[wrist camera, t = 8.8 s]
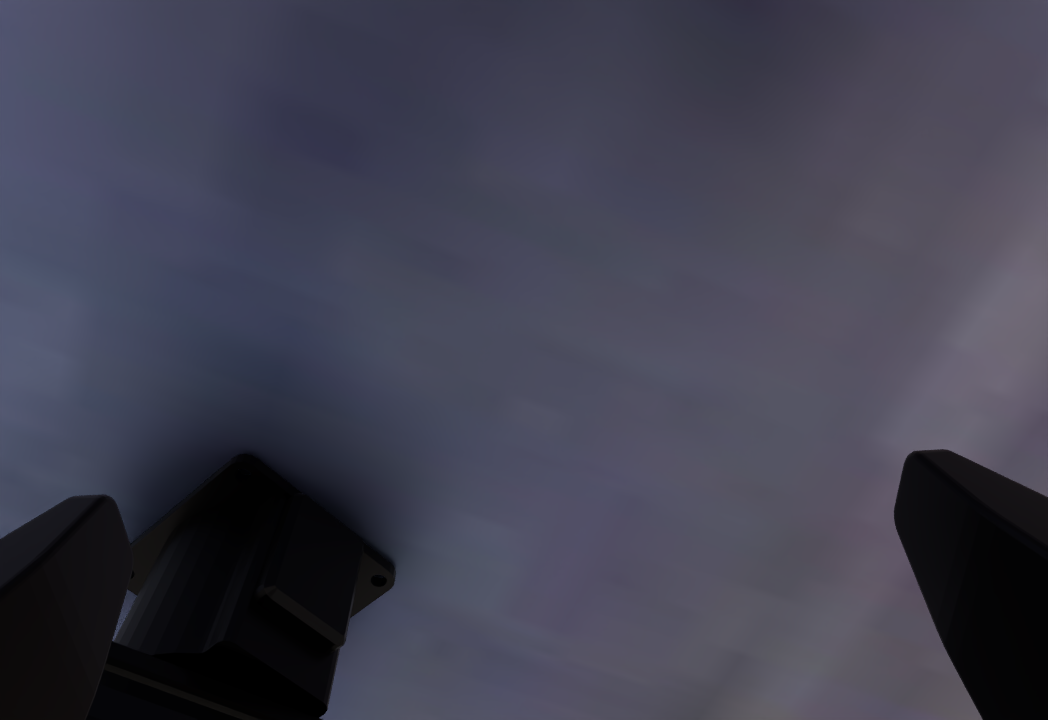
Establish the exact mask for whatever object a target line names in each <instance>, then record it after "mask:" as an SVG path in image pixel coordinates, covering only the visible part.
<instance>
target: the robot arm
mask: <svg viewBox="0 0 1048 720" xmlns="http://www.w3.org/2000/svg"><path fill="white" fill-rule="evenodd" d="M238 469H246V470H248V471H249V472H250V473H251V475H245V474H243V473H241V472H240V471H239V470H238ZM894 521H895V526H896V529H897V532H898V535H899V537H900V540H901V542H902V545H903V547H904V550H905V552H906V555H907V557H908V560H909V562H910V565H911V567H912V570H913V572H914V575H915V577H916V580H917V582H918V585H919V587H920V590H921V592H922V595H923V597H924V600H925V602H926V605H927V607H928V609H929V612H930V614H931V617H932V619H933V622H934V624H935V627H936V629H937V631H938V634H939V636H940V638H941V641H942V643H943V645H944V647H945V649H946V651H947V653H948V655H949V657H950V659H951V661H952V663H953V665H954V667H955V669H956V671H957V672H958V674H959V676H960V678H961V680H962V682H963V684H964V685H965V687H966V689H967V691H968V693H969V695H970V697H971V699H972V700H973V702H974V704H975V706H976V708H977V710H978V712H979V713H980V715H981V717H982V719H983V720H1048V497H1046V496H1044V495H1042V494H1040V493H1038V492H1036V491H1034V490H1032V489H1030V488H1027V487H1025V486H1023V485H1021V484H1019V483H1017V482H1015V481H1013V480H1011V479H1009V478H1006V477H1004V476H1002V475H1000V474H998V473H996V472H994V471H992V470H990V469H988V468H985V467H983V466H981V465H979V464H977V463H975V462H973V461H971V460H969V459H967V458H965V457H962V456H960V455H958V454H956V453H954V452H952V451H949V450H944V449H940V450H922V451H913V452H912V453H910V454H909V455H908V456H907V458H906V460H905V462H904V466H903V471H902V475H901V480H900V484H899V489H898V493H897V498H896V503H895V508H894ZM374 575H382V576H385V577H383V578H378V577H375V576H374ZM395 575H396V571H395V568H394V566H393V565H392V564H391V563H390V562H388V561H387V560H386V559H385V558H383V557H382V556H381V555H379V554H378V553H377V552H376V551H374V550H373V549H372V548H371V547H369V546H368V545H367V544H366V543H364V542H363V540H362V539H361V538H360V537H359V536H357V535H356V534H355V533H354V532H352V531H351V530H350V529H349V528H347V527H346V526H345V525H343V524H342V523H341V522H340V521H338V520H337V519H336V518H335V517H333V516H332V515H331V514H330V513H328V512H327V511H326V510H325V509H323V508H322V507H321V506H319V505H318V504H317V503H316V502H314V501H313V500H312V499H311V498H309V497H308V496H307V495H304V494H302V493H301V492H300V491H298V490H297V489H296V488H295V487H293V486H292V485H291V484H290V483H288V482H287V481H286V480H285V479H283V478H282V477H281V476H279V475H278V474H277V473H276V472H274V471H273V470H272V469H271V468H269V467H268V466H267V465H266V464H264V463H263V462H262V461H260V460H259V459H258V458H256V457H254V456H253V455H248V454H240V455H237V456H235V457H233V458H232V459H231V460H230V461H229V462H227V463H226V464H225V465H224V466H223V467H222V468H220V469H219V470H218V471H217V472H216V473H214V474H213V475H212V476H211V477H210V478H209V479H207V480H206V481H205V482H204V483H203V484H201V485H200V486H199V487H198V488H197V489H196V490H194V491H193V492H192V493H191V494H190V495H188V496H187V497H186V498H185V499H184V500H183V501H181V502H180V503H179V504H178V505H177V506H175V507H174V508H173V509H172V510H171V511H169V512H168V513H167V514H166V515H165V516H164V517H162V518H161V519H160V520H159V521H158V522H156V523H155V524H154V525H153V526H152V527H151V528H149V529H148V530H147V531H146V532H145V533H143V534H142V535H141V536H140V537H139V538H138V539H136V540H135V541H134V542H133V543H132V544H130V542H129V539H128V536H127V533H126V530H125V527H124V524H123V521H122V518H121V515H120V512H119V509H118V506H117V504H116V502H115V501H114V499H113V498H112V497H110V496H108V495H104V494H103V495H84V496H73V497H70V498H68V499H66V500H64V501H63V502H61V503H59V504H58V505H56V506H54V507H53V508H51V509H49V510H48V511H46V512H44V513H43V514H41V515H39V516H38V517H36V518H34V519H33V520H31V521H29V522H28V523H26V524H24V525H23V526H21V527H19V528H18V529H16V530H14V531H13V532H11V533H9V534H8V535H6V536H4V537H3V538H1V539H0V720H323V719H320V718H319V717H321V716H322V715H324V714H325V713H326V711H327V709H328V704H329V699H330V694H331V689H332V685H333V680H334V675H335V670H336V665H337V660H338V655H339V650H340V647H341V646H343V645H344V643H345V641H346V636H347V631H348V626H349V621H350V618H351V617H352V616H354V615H355V614H356V613H358V612H359V611H361V610H362V609H363V608H365V607H366V606H368V605H369V604H370V603H372V602H373V601H375V600H376V599H377V598H379V597H380V596H381V595H383V594H384V593H386V592H387V591H388V590H390V589H391V588H392V587H393V585H394V582H395ZM127 589H128V590H130V591H131V592H133V593H134V594H136V595H137V598H136V599H135V601H134V603H133V605H132V607H131V609H130V611H129V613H128V615H127V617H126V619H125V621H124V622H123V624H122V626H121V628H120V630H119V632H118V634H117V636H116V638H115V640H114V641H112V639H113V636H114V632H115V629H116V626H117V622H118V619H119V616H120V612H121V609H122V605H123V602H124V599H125V595H126V592H127Z"/></svg>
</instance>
